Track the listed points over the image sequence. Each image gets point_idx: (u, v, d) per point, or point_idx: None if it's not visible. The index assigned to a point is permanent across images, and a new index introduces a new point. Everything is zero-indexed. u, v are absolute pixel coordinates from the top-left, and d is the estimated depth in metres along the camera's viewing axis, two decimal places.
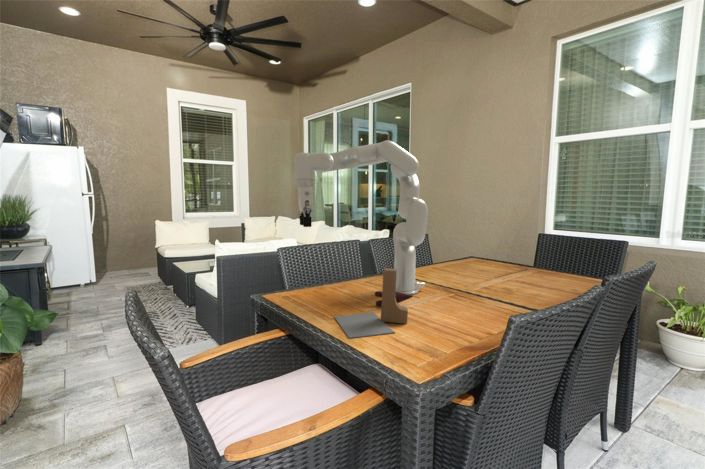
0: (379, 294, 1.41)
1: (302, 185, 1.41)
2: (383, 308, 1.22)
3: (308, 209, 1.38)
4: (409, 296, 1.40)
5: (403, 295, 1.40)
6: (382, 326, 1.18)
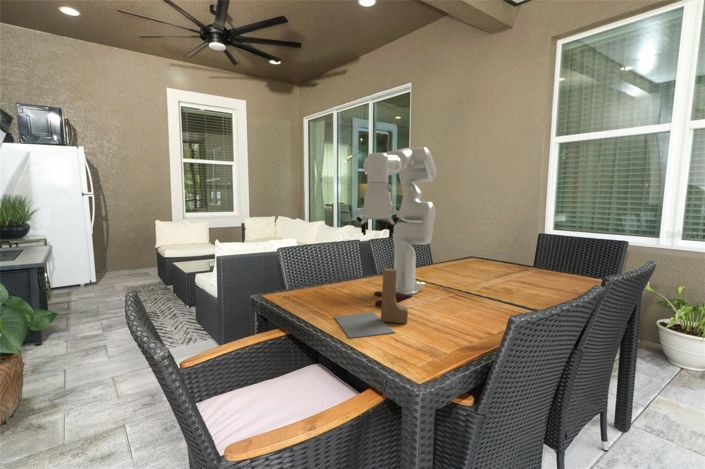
0: (378, 294, 1.41)
1: (387, 189, 1.26)
2: (383, 308, 1.21)
3: (400, 216, 1.28)
4: (408, 296, 1.40)
5: (402, 295, 1.40)
6: (382, 326, 1.18)
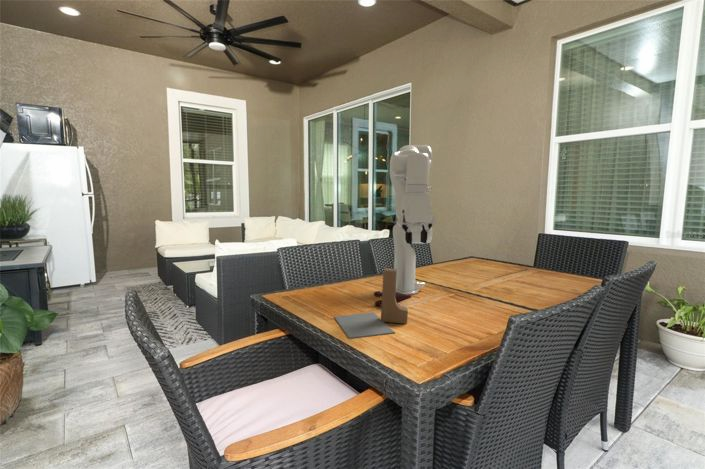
0: (378, 294, 1.41)
1: None
2: (383, 308, 1.21)
3: None
4: (408, 296, 1.40)
5: (402, 295, 1.40)
6: (382, 326, 1.18)
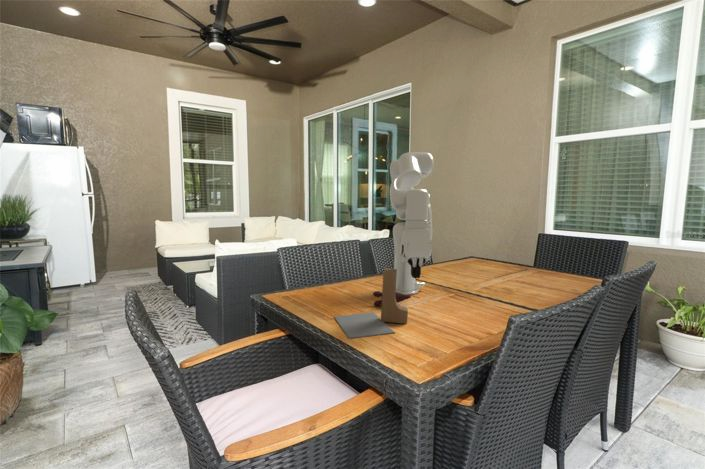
0: (377, 294, 1.41)
1: (427, 227, 1.22)
2: (383, 308, 1.21)
3: None
4: (407, 296, 1.40)
5: (401, 295, 1.40)
6: (382, 326, 1.18)
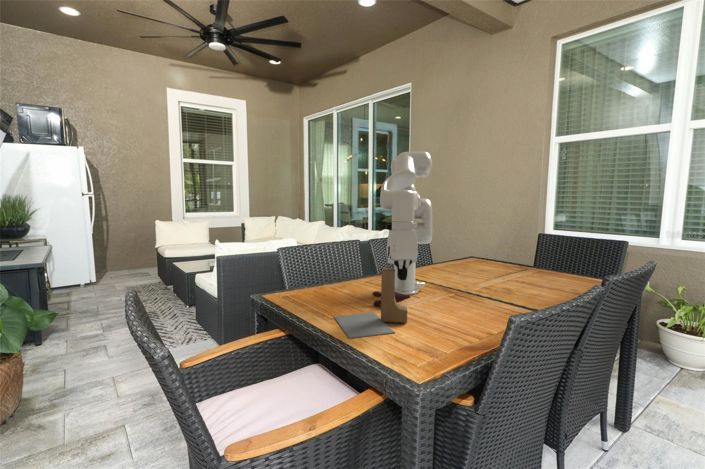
0: (377, 294, 1.41)
1: (414, 228, 1.21)
2: (383, 308, 1.21)
3: None
4: (407, 296, 1.40)
5: (401, 295, 1.40)
6: (382, 326, 1.18)
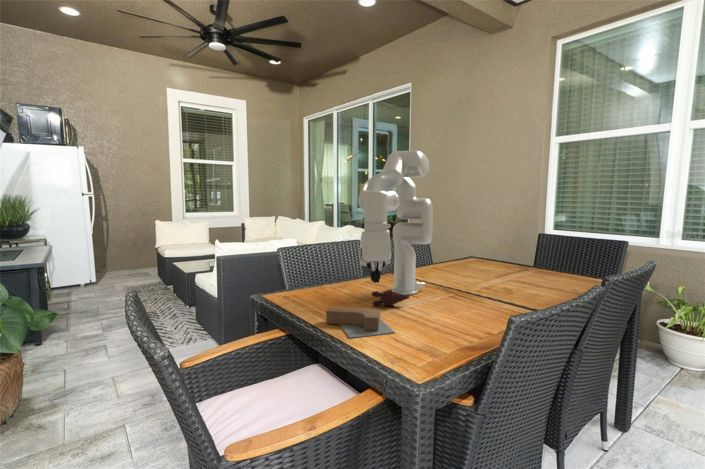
0: (376, 294, 1.41)
1: (387, 229, 1.18)
2: None
3: None
4: (406, 297, 1.40)
5: (400, 295, 1.39)
6: (382, 326, 1.18)
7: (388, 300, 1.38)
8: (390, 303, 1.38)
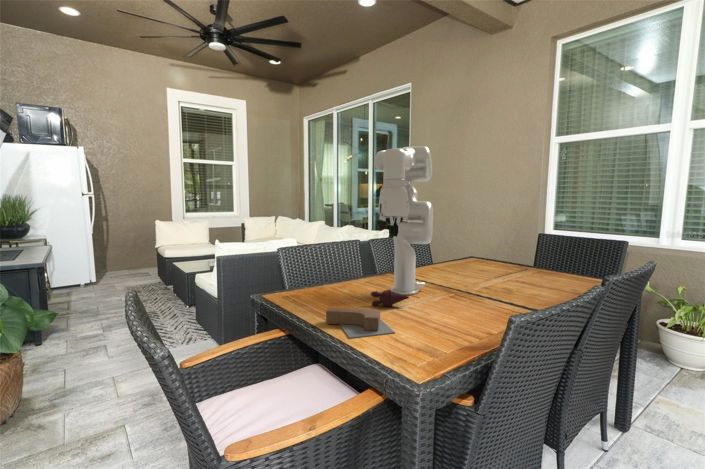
0: (375, 294, 1.41)
1: (404, 186, 1.26)
2: None
3: (404, 219, 1.29)
4: (405, 297, 1.39)
5: (399, 296, 1.39)
6: (382, 326, 1.18)
7: (387, 300, 1.38)
8: (389, 303, 1.38)
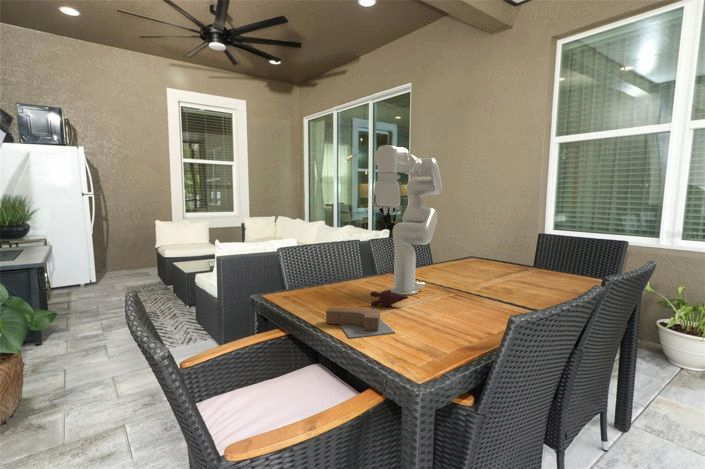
0: (374, 294, 1.41)
1: (396, 179, 1.38)
2: None
3: None
4: (404, 297, 1.39)
5: (398, 296, 1.39)
6: (382, 326, 1.18)
7: (386, 300, 1.38)
8: (388, 303, 1.38)
